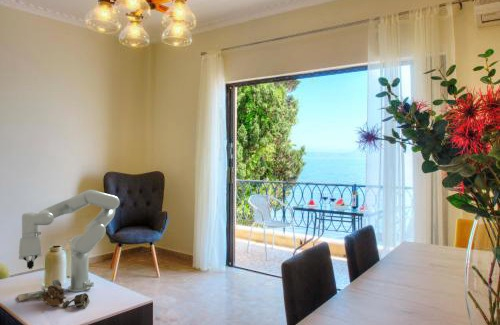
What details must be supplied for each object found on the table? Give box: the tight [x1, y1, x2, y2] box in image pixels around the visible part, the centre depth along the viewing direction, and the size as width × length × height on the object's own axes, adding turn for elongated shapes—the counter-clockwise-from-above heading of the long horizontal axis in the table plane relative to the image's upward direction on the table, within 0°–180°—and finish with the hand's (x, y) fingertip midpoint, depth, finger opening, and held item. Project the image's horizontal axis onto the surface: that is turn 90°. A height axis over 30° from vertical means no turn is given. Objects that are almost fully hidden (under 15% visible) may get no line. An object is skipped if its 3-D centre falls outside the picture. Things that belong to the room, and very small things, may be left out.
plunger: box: [40, 283, 46, 293], centre depth 198 cm, size 1×8×4 cm, turn 37°
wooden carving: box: [41, 284, 67, 307], centre depth 186 cm, size 16×5×10 cm, turn 70°
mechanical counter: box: [62, 292, 91, 309], centre depth 184 cm, size 7×13×10 cm
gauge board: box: [17, 279, 62, 303], centre depth 199 cm, size 20×10×6 cm, turn 127°
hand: (30, 268), depth 196 cm, fingers closed
